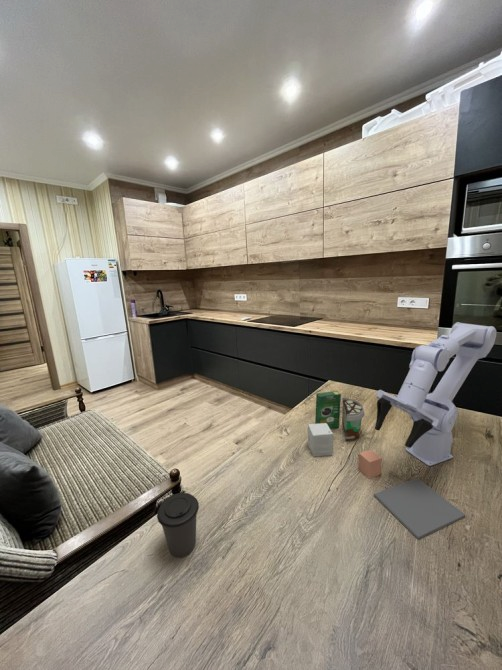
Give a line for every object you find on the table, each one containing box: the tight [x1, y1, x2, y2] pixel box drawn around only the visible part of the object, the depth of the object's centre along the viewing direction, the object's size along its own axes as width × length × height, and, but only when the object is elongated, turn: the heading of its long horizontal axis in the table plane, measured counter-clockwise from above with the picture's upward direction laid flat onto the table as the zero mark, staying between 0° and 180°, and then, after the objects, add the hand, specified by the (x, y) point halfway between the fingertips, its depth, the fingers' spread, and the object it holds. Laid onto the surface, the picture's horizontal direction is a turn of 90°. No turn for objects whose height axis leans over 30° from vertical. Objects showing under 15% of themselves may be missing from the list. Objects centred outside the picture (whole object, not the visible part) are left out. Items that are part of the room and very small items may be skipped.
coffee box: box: [314, 390, 342, 430], centre depth 95 cm, size 8×3×13 cm, turn 103°
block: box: [357, 449, 383, 480], centre depth 75 cm, size 4×4×5 cm
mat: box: [373, 477, 466, 540], centre depth 64 cm, size 14×12×1 cm
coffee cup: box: [156, 492, 200, 559], centre depth 56 cm, size 8×8×10 cm
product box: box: [307, 423, 334, 457], centre depth 84 cm, size 6×6×7 cm
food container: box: [341, 397, 366, 442], centre depth 92 cm, size 12×6×10 cm, turn 168°
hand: (391, 438), depth 68 cm, fingers open, 7 cm apart
